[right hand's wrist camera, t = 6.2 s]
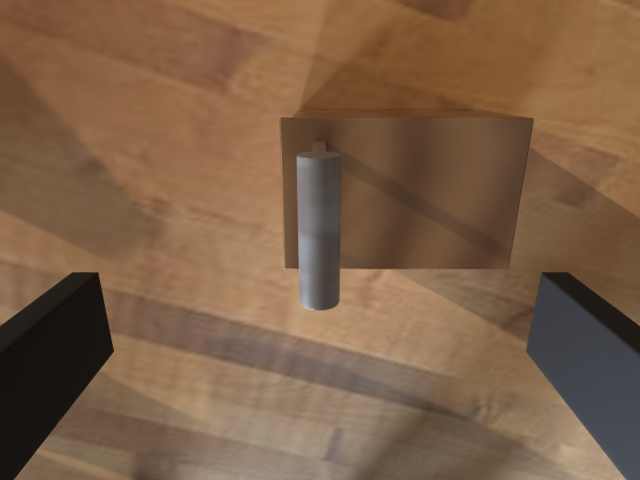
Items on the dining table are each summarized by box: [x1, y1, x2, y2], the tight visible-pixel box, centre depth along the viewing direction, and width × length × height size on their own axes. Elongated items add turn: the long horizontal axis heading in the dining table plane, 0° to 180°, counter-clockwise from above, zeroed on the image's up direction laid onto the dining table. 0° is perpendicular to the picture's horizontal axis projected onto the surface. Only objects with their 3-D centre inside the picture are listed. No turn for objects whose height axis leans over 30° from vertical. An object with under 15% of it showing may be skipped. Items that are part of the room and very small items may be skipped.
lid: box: [280, 117, 533, 311], centre depth 22 cm, size 14×9×8 cm, turn 90°
